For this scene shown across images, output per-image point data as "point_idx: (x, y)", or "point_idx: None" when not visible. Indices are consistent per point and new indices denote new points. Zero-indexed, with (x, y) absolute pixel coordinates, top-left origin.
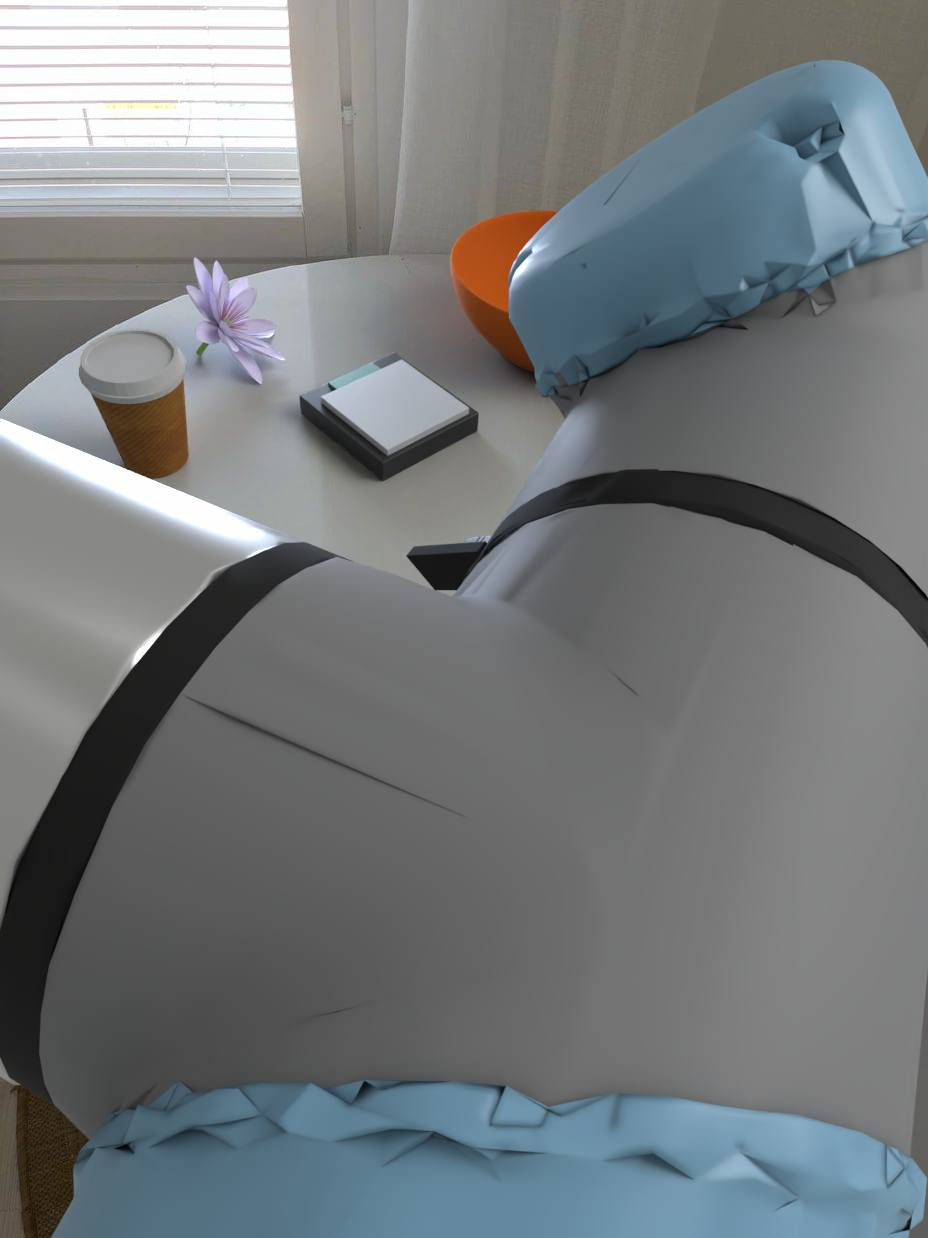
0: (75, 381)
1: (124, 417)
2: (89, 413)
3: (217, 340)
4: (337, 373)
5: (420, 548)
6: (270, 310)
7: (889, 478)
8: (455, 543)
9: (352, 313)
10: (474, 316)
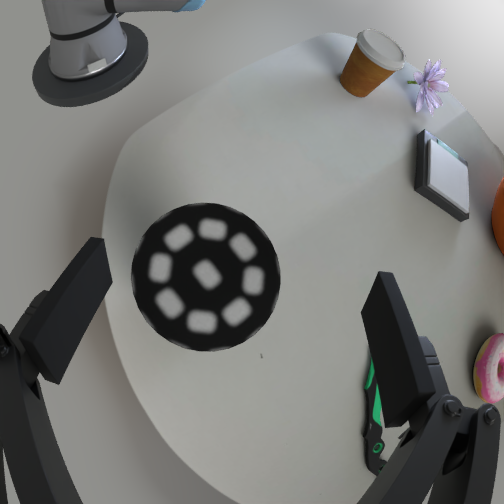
0: None
1: (357, 57)
2: None
3: (419, 84)
4: None
5: (393, 284)
6: (443, 102)
7: None
8: (417, 336)
9: (466, 136)
10: (502, 191)
